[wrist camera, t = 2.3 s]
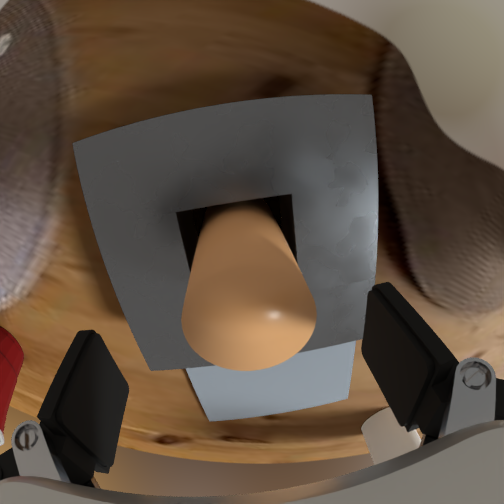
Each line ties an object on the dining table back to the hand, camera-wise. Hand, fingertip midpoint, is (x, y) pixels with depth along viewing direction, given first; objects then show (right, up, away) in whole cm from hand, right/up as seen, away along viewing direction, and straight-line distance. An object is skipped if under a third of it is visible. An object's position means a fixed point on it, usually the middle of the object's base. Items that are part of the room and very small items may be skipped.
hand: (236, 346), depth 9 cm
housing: (0, +5, +11) cm, 12 cm away
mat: (+3, -9, +18) cm, 20 cm away
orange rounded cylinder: (0, +5, +11) cm, 12 cm away
